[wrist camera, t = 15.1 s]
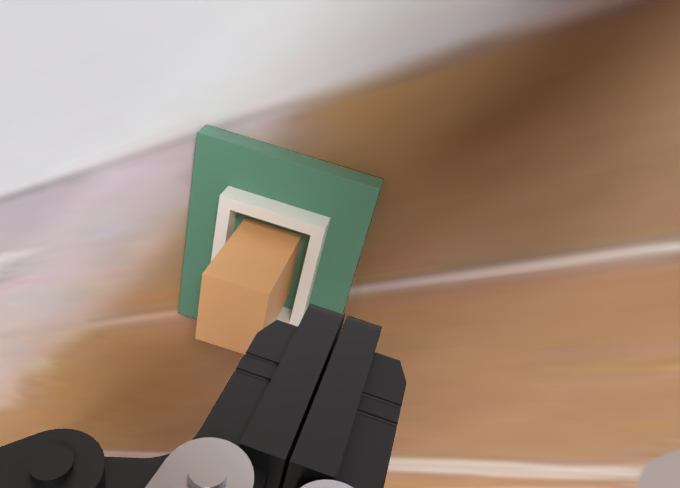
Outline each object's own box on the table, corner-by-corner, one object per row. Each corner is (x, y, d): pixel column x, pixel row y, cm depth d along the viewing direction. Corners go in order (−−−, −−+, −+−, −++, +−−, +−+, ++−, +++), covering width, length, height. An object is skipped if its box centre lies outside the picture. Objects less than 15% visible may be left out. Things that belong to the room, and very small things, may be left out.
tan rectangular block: (302, 235, 38) (269, 294, 32) (287, 302, 41) (255, 367, 35) (245, 217, 39) (202, 273, 33) (234, 285, 42) (193, 348, 36)
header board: (383, 179, 37) (376, 199, 34) (331, 349, 45) (322, 375, 42) (206, 124, 38) (186, 140, 35) (186, 301, 45) (168, 324, 43)
